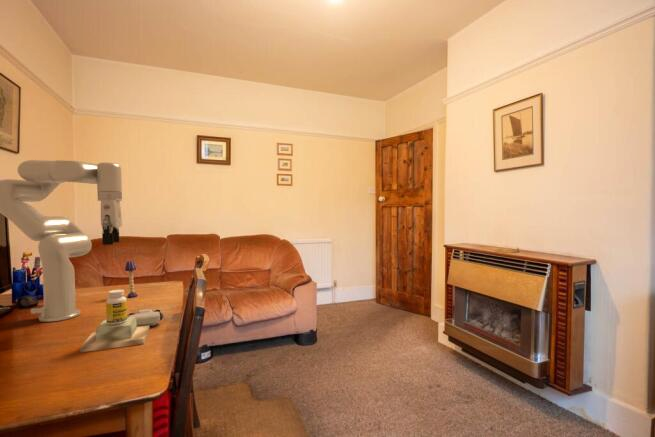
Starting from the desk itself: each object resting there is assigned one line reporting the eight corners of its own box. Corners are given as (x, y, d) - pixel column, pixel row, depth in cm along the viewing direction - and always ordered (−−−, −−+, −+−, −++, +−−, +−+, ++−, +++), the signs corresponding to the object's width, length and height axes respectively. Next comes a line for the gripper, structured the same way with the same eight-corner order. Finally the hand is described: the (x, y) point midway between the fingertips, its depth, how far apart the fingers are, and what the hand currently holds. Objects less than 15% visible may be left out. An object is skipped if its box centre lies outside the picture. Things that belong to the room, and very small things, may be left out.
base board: (80, 352, 96) (79, 333, 96) (93, 336, 108) (92, 319, 108) (143, 343, 102) (143, 325, 102) (149, 329, 114) (149, 313, 114)
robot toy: (126, 323, 124) (123, 333, 111) (125, 310, 124) (122, 319, 111) (163, 317, 130) (164, 326, 116) (162, 305, 130) (164, 313, 117)
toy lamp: (125, 298, 156) (124, 262, 155) (126, 296, 160) (125, 261, 159) (137, 297, 158) (136, 261, 158) (137, 295, 162) (136, 260, 162)
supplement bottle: (112, 326, 101) (111, 293, 101) (103, 323, 104) (102, 291, 104) (130, 321, 106) (129, 290, 106) (121, 318, 109) (120, 288, 108)
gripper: (116, 195, 117) (117, 245, 118) (126, 197, 134) (127, 241, 134) (90, 195, 115) (92, 246, 115) (104, 197, 131) (105, 241, 131)
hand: (111, 243), depth 125 cm, fingers open, 9 cm apart
